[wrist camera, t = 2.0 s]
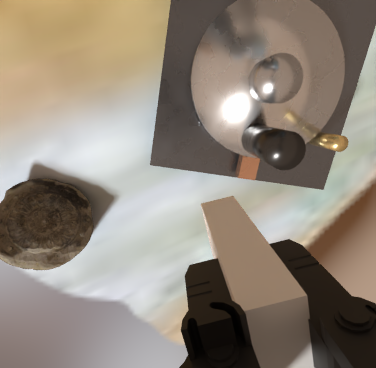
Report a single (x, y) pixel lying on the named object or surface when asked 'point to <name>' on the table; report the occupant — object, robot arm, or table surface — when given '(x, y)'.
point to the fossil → (43, 224)
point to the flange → (267, 80)
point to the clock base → (199, 137)
